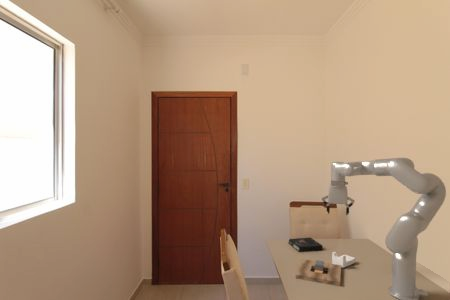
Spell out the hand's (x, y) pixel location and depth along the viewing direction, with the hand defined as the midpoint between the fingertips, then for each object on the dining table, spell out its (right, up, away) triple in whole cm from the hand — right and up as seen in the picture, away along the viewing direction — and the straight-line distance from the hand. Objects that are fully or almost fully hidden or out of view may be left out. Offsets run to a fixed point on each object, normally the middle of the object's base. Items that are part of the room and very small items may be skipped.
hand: (337, 213), depth 162 cm
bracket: (+7, -33, +9) cm, 35 cm away
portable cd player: (-8, -32, +37) cm, 50 cm away
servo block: (-11, -33, -3) cm, 35 cm away
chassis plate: (-11, -32, -3) cm, 34 cm away
